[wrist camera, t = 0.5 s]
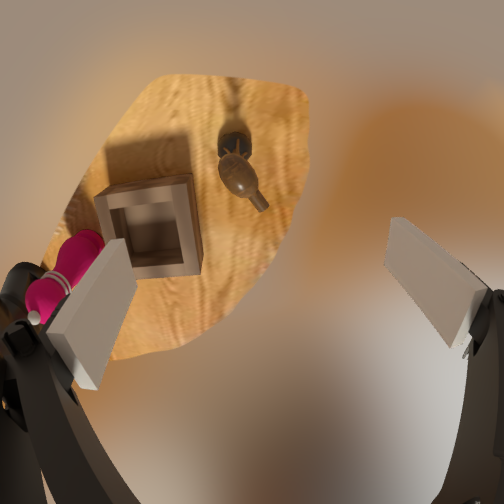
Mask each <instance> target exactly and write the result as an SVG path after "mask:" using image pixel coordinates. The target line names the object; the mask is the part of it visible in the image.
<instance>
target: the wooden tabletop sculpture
mask: <svg viewBox="0 0 504 504" xmlns="http://www.w3.org/2000/svg"><path fill="white" fill-rule="evenodd" d="M251 155H252V143H251V142H250V141H249V139H248V138H247V137H246V135H244V134H241V133H238V132H232V133H229V134H226V135H224V136H223V137H222V139H221V140H220V141H219V143H218V156H219V157H220V158H221V159H220V160H219V165H218V170H219V174H220V178H221V180H222V181H223V183H224V185H225V186H226V187H227V188H228V189H229V190H230V191H231V193H232V194H234V195H236V196H238V197H240V198H249V200H250V201H251V202H252V204H253V205H254V206H255V208H256V209H257V210H258V212H263V211H264V210H266V209H267V208H268V207H269V204H268V202H267V201H266V199H265V198H264V197H263V195H262V194H261V193H260V191H259V190H258V177H257V175H256V173H255V170H254V169H253V167H252V166H251V165H250V163H249V162H248V161H247V160H248V159H249V157H250V156H251Z"/></svg>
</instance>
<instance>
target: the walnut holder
mask: <svg viewBox="0 0 504 504" xmlns="http://www.w3.org/2000/svg"><path fill="white" fill-rule="evenodd" d="M94 202H95V206H96V210H97V215H98V219H99V223H100V227H101V230H102V234H103V238H104V241H105V245H107V244H108V242H109V241H110V240H113V239H122V238H124V239H125V243H126V247H127V251H128V254H129V258H130V262H131V265H132V269H133V273H134V276H135V279H136V280H137V279H151V278H164V277H177V276H190V275H200V274H201V268H202V261H203V255H204V254H203V248H202V241H201V234H200V228H199V221H198V213H197V206H196V199H195V191H194V183H193V175H192V173H191V174H183V175H175V176H167V177H160V178H153V179H147V180H140V181H134V182H128V183H122V184H117V185H111V186H109V187H107V188H106V189H105V190H103V191H102V192H100V193H99V194H98V195H96V196H95V197H94Z"/></svg>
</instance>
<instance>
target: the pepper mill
mask: <svg viewBox="0 0 504 504" xmlns="http://www.w3.org/2000/svg"><path fill="white" fill-rule="evenodd" d="M104 247H105V244H104V241H103V240H102V238H101V237H100V236H99V235H98V234H97V233H96V232H94V231H92V230H81V231H80V232H78V233H77V234H76V235H75V236H74V237H71V238H69V239H67V240H66V241H65V242H64V243H63V245H62V246H61V248H60V250H59V253H58V257H57V262H56V266H55V268H54V269H53V270H52V271H48V272H46V273H45V274H44V275H43V276H42V277H41V279H38V280H35V281H34V282H33V283H32V284H31V285H30V286H29V287H28V289H27V291H26V295H25V304H26V308H27V310H28V312H29V314H28V320H30V322H31V324H32V325H37V324H39V323H41V324H45V323H46V321H47V320H48V318H49V317H50V315H51V313H52V312H53V310H55V307H56V306H57V304H58V303H59V302H60V300H61V299H63V298H64V297H65V296H66V295H67V294H69V293H72V288H73V287H74V286H75V285H77V284H78V283H79V281H80V280H81V278H82V277H83V276H84V274H85V273H86V271H87V270H88V269H89V267H90V266H91V265H92V263H93V262H94V261H95V259H96V258H97V257H98V255H99V254H100V253H101V251H102V250H103V249H104Z"/></svg>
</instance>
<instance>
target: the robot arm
mask: <svg viewBox="0 0 504 504" xmlns="http://www.w3.org/2000/svg"><path fill="white" fill-rule="evenodd" d="M384 266H385V267H386V268H387V269H388V270H389V271H390V273H391V274H392V275H393V276H394V277H395V279H396V280H397V281H398V282H399V283H400V284H401V286H402V287H403V288H404V289H405V290H406V292H407V293H408V294H409V295H410V297H411V298H412V299H413V300H414V302H415V303H416V304H417V305H418V307H419V308H420V309H421V311H423V313H424V314H425V316H426V317H427V318H428V320H429V321H430V322H431V323H432V325H433V326H434V328H435V329H436V330H437V332H439V334H440V335H441V337H442V338H443V340H444V341H445V342H446V344H447V345H448V346H449V348H453V347H456V346H459V345H461V344H463V342H464V340H465V338H466V336H467V334H468V332H469V333H470V335H471V336H472V339H471V341H470V343H469V345H468V347H467V349H466V351H465V352H464V355H463V357H462V358H463V359H464V358H465V356H466V355H467V354H468V353H469V356H468V370H467V379H466V387H465V395H464V402H463V408H462V413H461V419H460V424H459V429H458V433H457V438H456V442H455V446H454V450H453V454H452V458H451V461H450V465H449V468H448V471H447V474H446V477H445V480H444V484H443V486H442V489H441V491H440V492H439V494H438V495H437V497H436V498H435V499H434V500H433V501H432V503H431V504H504V290H500V289H498V290H495V291H492V290H491V289H490V288H489V287H488V286H487V285H486V284H485V283H484V282H483V281H482V280H480V278H479V277H477V276H475V274H474V273H473V272H472V271H471V270H470V271H469V268H467V267H466V266H465V265H464V264H463V263H461V262H459V261H458V260H457V259H455V258H454V257H453V256H452V255H451V254H450V253H449V252H447V251H446V250H445V249H443V248H442V247H441V246H440V245H439V244H438V243H436V242H435V241H434V240H433V239H431V238H430V237H429V236H428V235H426V234H425V233H424V232H422V231H421V230H420V229H418V228H417V227H416V226H415V225H413V224H412V223H411V222H409V221H408V220H407V219H405V218H404V217H395V218H391V224H390V231H389V238H388V244H387V250H386V256H385V261H384ZM45 273H46V271H44V270H43V269H42V268H40V267H39V266H37V265H35V264H33V263H29V262H21V263H18V264H16V265H15V266H14V267H13V268H12V269H11V270H10V272H9V273H8V275H7V277H6V280H5V282H4V285H3V287H2V290H1V292H0V504H47V500H46V495H45V490H44V486H43V480H42V475H41V470H42V473H43V475H44V478H45V480H46V483H47V485H48V487H49V490H50V492H51V494H52V496H53V498H54V501H55V502H56V504H141V503H140V502H139V501H138V499H137V498H136V497H135V496H134V494H133V493H132V491H131V490H130V489H129V487H128V486H127V484H126V483H125V482H124V480H123V478H122V477H121V475H120V474H119V472H118V471H117V469H116V468H115V466H114V465H113V463H112V461H111V460H110V458H109V457H108V455H107V453H106V452H105V450H104V448H103V447H102V445H101V443H100V441H99V439H98V437H97V436H96V434H95V432H94V430H93V428H92V427H91V425H90V423H89V420H88V418H87V416H86V415H85V412H84V411H83V408H82V406H81V404H80V402H79V400H78V398H77V395H76V393H75V391H74V390H73V388H72V387H71V384H72V382H73V379H75V380H76V382H77V383H78V385H79V386H80V387H81V388H83V389H91V390H98V389H99V386H100V383H101V380H102V377H103V374H104V371H105V368H106V365H107V363H108V360H109V357H110V354H111V352H112V349H113V346H114V344H115V341H116V338H117V336H118V333H119V331H120V328H121V325H122V323H123V320H124V318H125V316H126V313H127V311H128V308H129V306H130V303H131V301H132V299H133V296H134V294H135V292H136V289H137V287H138V286H137V283H136V279H135V276H134V273H133V269H132V265H131V262H130V258H129V254H128V251H127V247H126V243H125V239H124V238H122V239H113V240H110V241H109V242H108V244H107V245H106V246H105V247H104V249H103V250H102V251H101V253H100V254H99V255H98V257H97V258H96V259H95V261H94V262H93V263H92V265H91V266H90V267H89V269H88V270H87V271H86V273H85V274H84V276H83V277H82V278H81V280H80V281H79V283H78V284H77V285H76V287H75V288H74V290H73V291H72V293H69V294H67V295H66V296H65V297H64V298H63V299H61V300H60V302H59V303H58V304H57V306H56V307H55V310H53V312H52V313H51V315H50V317H49V318H48V320H47V321H46V323H45V324H41V323H39V324H37V325H32V324H31V322H30V320H28V314H29V312H28V310H27V308H26V304H25V295H26V291H27V289H28V287H29V286H30V285H31V284H32V283H33V282H34V281H35V280H38V279H41V277H42V276H43V275H44V274H45ZM2 400H3V401H4V403H5V409H4V408H3V405H2Z"/></svg>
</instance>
